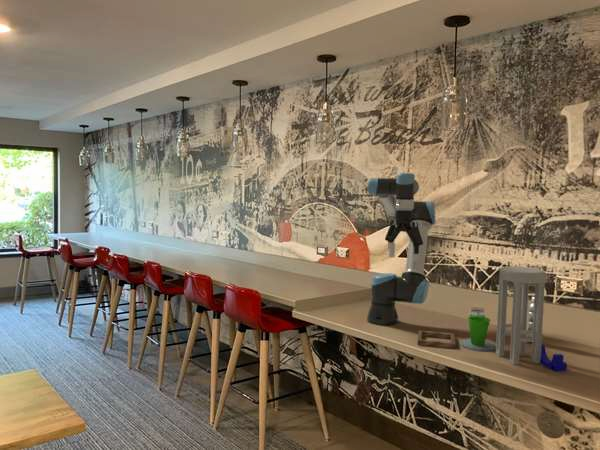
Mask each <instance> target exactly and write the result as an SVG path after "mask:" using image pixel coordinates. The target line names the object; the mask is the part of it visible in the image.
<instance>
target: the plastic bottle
mask: <svg viewBox="0 0 600 450" xmlns="http://www.w3.org/2000/svg"><path fill="white" fill-rule="evenodd" d="M534 302H535V295H532V296H531V302H530V303H529V304H528V309H527V323H528V324H527V330H533V320H534ZM544 313H545V308H544V307H543V315H544ZM526 338H533V334H526ZM543 338H544V336H543V335H542V340H544V339H543ZM530 343H531V344H532V342H530Z"/></svg>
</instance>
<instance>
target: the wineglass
mask: <svg viewBox="0 0 600 450" xmlns="http://www.w3.org/2000/svg"><path fill="white" fill-rule="evenodd" d="M468 315H469V316H482V317H485V316H486V309H484V308H482V307H475V306H474V307H469V312H468Z"/></svg>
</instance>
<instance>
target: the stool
mask: <svg viewBox="0 0 600 450" xmlns="http://www.w3.org/2000/svg"><path fill="white" fill-rule="evenodd" d="M509 282H511V283H512V282H513V290H512V291H513V292H512V309H511V310H512V311H511V323H507V306H508V289H509V288H508V285H509ZM530 284H535V285H534V287H535V288H534V296H535V302H534V320H533V330H528V329H527V328H528V324H527V323H528V306H529V304H528V303H529V288H530V287H529V286H530ZM545 287H546V271H545V270H543V269H540V268H537V267H529V266H528V267H527V266H519V265H517V266H516V265H515V266H514V265H513V266H512V265H509V266H508V265H506V266H501V267H500V268H499V280H498V297H497V298H498V300H497V301H498V303H497V318H496V320H497V324H496V342H495V343H496V344H495V345H496V349H495V355H496V356H497V357H505V350H506V349H505V348H506V345H505V344H506V336H510V346H509V347H510V351H509V363H510V364H512V365H515V366H516V365H520V356H526V343H531V342H532V343H531V357H530V358H531V359H530V360H531V363H534V364H541V363H540V360H541V345H542V342H543V339H542V336H543V324H544V323H543V321H544V318H543V317H544V314H543V308H544V306H545V305H544V304H545V303H544V302H545V290H546V289H545ZM509 328H511V330H510V331H506V329H509ZM526 334H533V338H526Z"/></svg>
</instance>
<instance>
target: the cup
mask: <svg viewBox="0 0 600 450" xmlns="http://www.w3.org/2000/svg"><path fill="white" fill-rule="evenodd" d="M467 320H468V326H469V335H470V337H469V338H470V339H471V343H472V345H474V346H484V344H485V341H487V335H488V329H489V326H490V322H491V319H490V318H489V317H482V316H470V315H469V316H468V317H467Z"/></svg>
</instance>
